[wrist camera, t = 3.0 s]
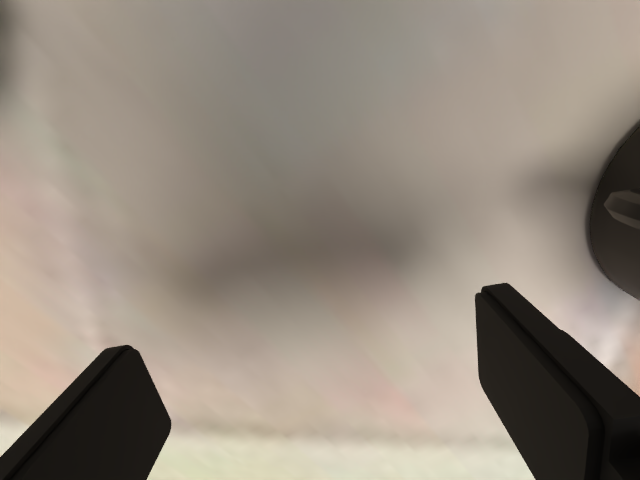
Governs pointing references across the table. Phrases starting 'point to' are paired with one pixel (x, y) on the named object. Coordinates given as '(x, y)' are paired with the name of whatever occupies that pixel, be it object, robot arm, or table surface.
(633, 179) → the mug
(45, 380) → the table surface
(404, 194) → the table surface
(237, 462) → the table surface
